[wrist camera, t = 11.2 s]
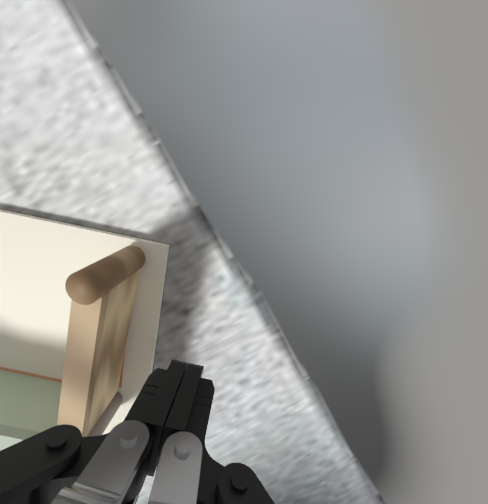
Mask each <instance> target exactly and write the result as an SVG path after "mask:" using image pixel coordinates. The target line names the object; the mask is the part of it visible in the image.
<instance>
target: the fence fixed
mask: <svg viewBox="0 0 488 504" xmlns="http://www.w3.org/2000/svg"><path fill="white" fill-rule="evenodd" d="M61 386H62V382H57V381H53V380H48V379H43V378H38V377H34V376H29V375H24V374H19V373H15V372H10V371H5V370H1V369H0V451H1V450H3V449H5V448H8V447H10V446H12V445H14V444H16V443H19V442H21V441H23V440H25V439H27V438H29V437H32V436H34V435H36V434H38V433H40V432H43V431H45V430H47V429H49V428H52V427H54V426H57V421H58V412H59V404H60V395H61ZM122 401H123V399H122V395H121V394H120V393H119V392H118V391H117V393H116V394H115V396H114V397H113V399H112V400H111V402H110V403H109V405H108V406H107V407H106V409H105V410H104V412H103V413H102V415H101V416H100V418H99V419H98V421H97V422H96V424H95V425H94V427H93V428H92V430H91V431H90V433H89V434H88V436H87V437H89V436H99V435H102V434H103V433H104V431H105V429H106V428H107V426H108V425H109V423H110V421H111V420H112V418H113V417H114V415H115V413H116V412H117V410H118V408H119V407H120V405H121V404H122Z"/></svg>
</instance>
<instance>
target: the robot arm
mask: <svg viewBox="0 0 488 504" xmlns="http://www.w3.org/2000/svg"><path fill="white" fill-rule="evenodd" d="M187 365H188V366H187ZM203 368H204V366H200V365H196V364H191V363H189V364H188V363H186V362H182V361H178V360H172V361H171V363H170V365H169V367H168V370H163V369H159V368H158V369H156V370H155V371H154V372H152V373H151V374H150V375H149V376H148V378H147V380H146V382H145V384H144V385H143V387H142V389H141V391H140V393H139V394H138V396H137V398H136V400H135V401H134V403H133V405H132V407H131V409H130V410H129V412H128V414H127V416H126V418H125V419H124V421H123V422H121V423H119V424H118V425H116V426H115V427H114V428H113V429H112V430H111V431H110V432H109V433H107V434H104V435H99V436H89V437H82V434H81V431H80V430H79V429H78V428H77V427H75V426H73V425H68V424H63V425H57V426H54V427H52V428H49V429H47V430H45V431H43V432H40V433H38V434H36V435H34V436H32V437H29V438H27V439H25V440H23V441H21V442H19V443H16V444H14V445H12V446H10V447H8V448H5V449H3V450H1V451H0V504H136V502H137V500H138V497H139V492H140V491H141V489H142V486H143V483H144V481H145V478H146V475H149V476H154V473H155V470H156V474H155V479H154V483H153V486H152V490H151V494H150V497H149V501H148V504H274V502H273V501H272V499H271V498H270V496H269V495H268V493H267V492H266V490H265V488H264V487H263V485H262V484H261V482H260V481H259V479H258V478H257V476H256V474H255V473H254V472H253V471H252V470H251V469H250V468H249V467H248V466H246V465H244V464H241V463H231V464H228V465H227V466H225V467H224V466H222V465H221V464H219V463H217V462H216V461H215V460H213V459H212V458H211V457H210V455H209V454H208V452H207V450H206V448H205V435H206V430H207V425H208V420H209V415H210V410H211V405H212V400H213V395H214V390H215V389H214V386H213V383H212V380H208V379H204V378H201V377H202V372H203ZM156 467H157V469H156Z"/></svg>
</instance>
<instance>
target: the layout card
mask: <svg viewBox="0 0 488 504" xmlns="http://www.w3.org/2000/svg"><path fill="white" fill-rule="evenodd" d="M127 246H136V247H138V248H140V249H141V250H142V251H143V252H144V254H145V264H144V265H143V267H142V268H140V269H139V275H138V281H137V286H136V292H135V297H134V303H133V308H132V314H131V320H130V325H129V331H128V336H127V342H126V347H125V353H124V358H123V364H122V370H121V375H120V381H119V386H118V392H119V393H120V394H121V395H122V399H123V401H122V404H121V405H120V407H119V408H118V410H117V412H116V413H115V415H114V417H113V418H112V420H111V421H110V423H109V425H108V426H107V428H106V429H105V431H104V433H103V434H102V435H104V434H107V433H109V432H110V431H111V430H112V429H113V428H114V427H115V426H116V425H118V424H119V423H121V422H123V421H124V419H125V418H126V416H127V414H128V412H129V410H130V409H131V407H132V405H133V403H134V401H135V400H136V398H137V396H138V394H139V393H140V391H141V389H142V387H143V385H144V384H145V382H146V380H147V378H148V376H149V375H150V374H151V373H152V371H153V364H154V357H155V349H156V342H157V334H158V327H159V320H160V312H161V305H162V298H163V290H164V283H165V275H166V268H167V261H168V253H169V246H170V244H165V243H160V242H155V241H150V240H146V239H141V238H136V237H131V236H127V235H122V234H117V233H112V232H107V231H103V230H98V229H93V228H88V227H83V226H79V225H74V224H69V223H64V222H60V221H55V220H50V219H45V218H40V217H36V216H31V215H26V214H21V213H17V212H12V211H7V210H2V209H0V369H1V370H5V371H10V372H15V373H19V374H24V375H29V376H34V377H38V378H43V379H48V380H53V381H57V382H62V378H63V369H64V360H65V352H66V343H67V334H68V326H69V317H70V308H71V300H72V299H71V298H70V297H69V296H68V294H67V292H66V288H65V283H66V280H67V278H68V277H69V276H70V275H71V274H72V273H74V272H77V271H79V270H81V269H83V268H85V267H87V266H89V265H91V264H93V263H95V262H97V261H99V260H101V259H103V258H105V257H107V256H109V255H111V254H113V253H115V252H117V251H119V250H121V249H123V248H125V247H127Z"/></svg>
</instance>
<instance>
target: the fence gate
mask: <svg viewBox="0 0 488 504" xmlns="http://www.w3.org/2000/svg"><path fill="white" fill-rule="evenodd" d="M144 264H145V254H144V252H143V251H142V250H141V249H140V248H138V247H136V246H127V247H125V248H123V249H121V250H119V251H117V252H115V253H113V254H111V255H109V256H107V257H105V258H103V259H101V260H99V261H97V262H95V263H93V264H91V265H89V266H87V267H85V268H83V269H81V270H79V271H77V272H74V273H72V274H71V275H70V276H69V277H68V278H67V280H66V283H65V288H66V292H67V294H68V296H69V297H70V298H71V299H72V300H71V308H70V317H69V326H68V334H67V343H66V352H65V360H64V369H63V378H62V386H61V395H60V404H59V412H58V421H57V425H63V424H68V425H73V426H75V427H77V428H78V429H79V430H80V431H81V434H82V437H87V436H88V434H89V433H90V431H91V430H92V428H93V427H94V425H95V424H96V422H97V421H98V419H99V418H100V416H101V415H102V413H103V412H104V410H105V409H106V407H107V406H108V405H109V403H110V402H111V400H112V399H113V397H114V396H115V394H116V393H117V391H118V386H119V381H120V375H121V370H122V364H123V358H124V353H125V347H126V342H127V336H128V331H129V325H130V320H131V314H132V308H133V303H134V297H135V292H136V286H137V281H138V275H139V269H140V268H142V267H143V265H144Z"/></svg>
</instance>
